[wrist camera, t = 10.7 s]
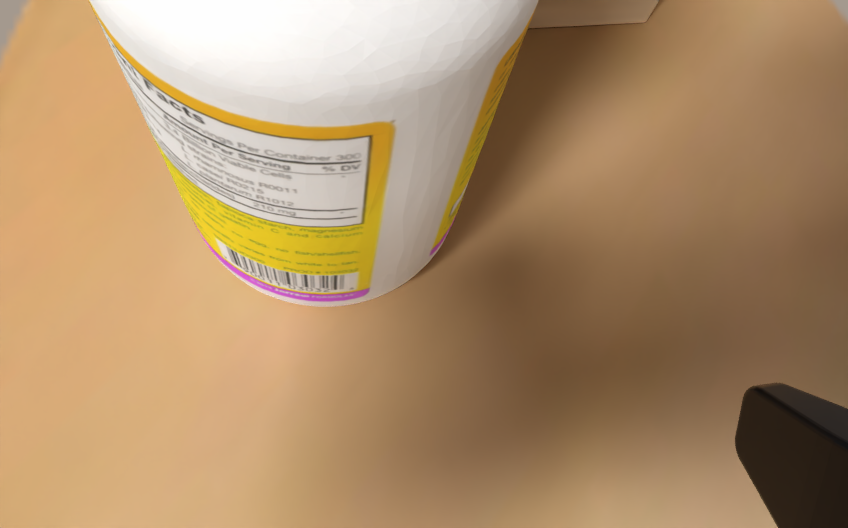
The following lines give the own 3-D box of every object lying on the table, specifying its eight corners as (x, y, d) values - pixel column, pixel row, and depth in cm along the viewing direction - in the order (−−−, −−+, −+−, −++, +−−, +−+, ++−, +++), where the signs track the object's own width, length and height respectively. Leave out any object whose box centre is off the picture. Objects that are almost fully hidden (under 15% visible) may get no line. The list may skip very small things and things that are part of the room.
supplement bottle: (377, 46, 20) (446, -671, 8) (501, 241, 18) (820, -290, 6) (146, 139, 18) (-210, -610, 6) (262, 364, 17) (87, -58, 5)
